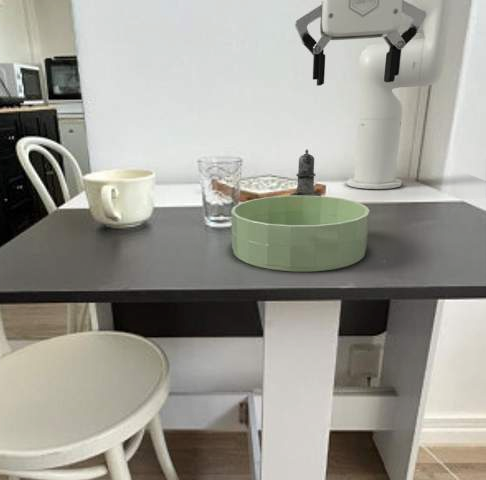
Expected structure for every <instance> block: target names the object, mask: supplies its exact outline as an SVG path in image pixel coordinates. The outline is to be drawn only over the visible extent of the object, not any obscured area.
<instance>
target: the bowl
mask: <svg viewBox="0 0 486 480" xmlns="http://www.w3.org/2000/svg"><path fill="white" fill-rule="evenodd" d="M230 213H231V214H230V216H231V218H230V219H231V222H230V223H231V249H232V254H233V255H234V256H235V257H236V258H237V259H239V260H240V261H242V262H244V263H246V264H248V265H252V266H255V267H258V268H262V269H268V270H272V271H273V270H274V271H282V272H298V273H306V272H308V273H311V272H323V271H333V270H336V269H342V268H346V267H349V266H352V265H354V264H356V263H358V262H360V261H361V260H362V259H363V258H364V257H365V255H366V250H367V247H368V235H369V225H370V214H371V210H370V209H369V208H368V206H366V205H365V204H362V203H360V202H359V201H355V200H350V199H346V198H341V197H333V196H326V195H325V196H324V195H321V196H306V195H297V196H289V195H277V196H266V197H259V198H254V199H250V200H247V201H243V202H240V203H238V204H236V205H234V206H232V208H231V211H230Z"/></svg>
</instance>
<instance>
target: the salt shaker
mask: <svg viewBox="0 0 486 480" xmlns="http://www.w3.org/2000/svg"><path fill="white" fill-rule="evenodd" d="M309 152H310V151H309V150H308V149H305V151H304V154H302V155H300V156H299V158H298V171H297V173H296V177H297V185H296V190H295V191H294V192H292V193H290V194H289V195H288V196H297V195H306V196H322V194H321V193H319V192H317V191H316V189H315V186H314V184H315V181H314V180H315V177H316V173H315V157H314V156H313V155H312V154H311V153H309Z"/></svg>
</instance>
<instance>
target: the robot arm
mask: <svg viewBox="0 0 486 480" xmlns="http://www.w3.org/2000/svg"><path fill="white" fill-rule="evenodd" d="M451 8H452V0H321V4H320V5H319V6H316V7H315V8H314V9H312V10H310V11H309V12H307V13H306V14H304V15H303V16H301V17H300V18H298V19H297V20H296V21H295V23H294V28H295V30H296V32H297V35H298V37H299V39H300V40H301V44H302V45H303V46H304V47H305V48H306V49H307V50H308V51H309V52H310V53H311V55H312V56H313V62H312V64H313V65H312V80H313V81H315V80H316V86H318V87H319V86H322V85H324V84H325V72H326V71H325V70H326V54H325V53H324V51H325V50H324V49H325V47H326V46H327V45H328V44H329V42H330V41H346V40H362V39H363V40H364V39H375V38H376V39H378V38H382V39H383V40H384V41H380V42H379V41H378V42H375V43H373V44H370V45H368V46H367V47H365V48H364V49H363V50H362V52H361V53H360V56H359V59H358V79H359V81H358V82H359V108H358V111H359V112H358V123H357V135H356V147H355V148H356V149H355V162H354V174H353V177H351V178H348V179H347V181H346V182H347V186H349V187H351V188H356V189H363V190H390V189H396V188H399V187H401V186H402V182H403V181H402V180H401V179H399V178H396V173H397V164H398V154H399V145H400V138H401V129H402V121H403V120H402V119H403V106H402V103H401V101H400V100H399V98H398V97H397V96H396V95H395V93H394V92H393V89H399V88H415V87H416V88H417V87H428V86H432V85H435V84H437V82H438V81H439V79H440V78H441V76H442V72H443V70H444V64H445V57H446V50H447V49H446V48H447V41H448V34H449V26H450V17H451ZM318 19H320V26H319V27H320V31H319V33H320V36H321V37H320V38H319V39H318V40H317V41H316V40H315V39H314V37H312V36H311V34H310V32H309V29H308V26H309V25H310V24H312V23H314V22H316V21H317V20H318ZM417 34H421V35H423V37H424V38H414V37H415V36H416V35H417Z"/></svg>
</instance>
